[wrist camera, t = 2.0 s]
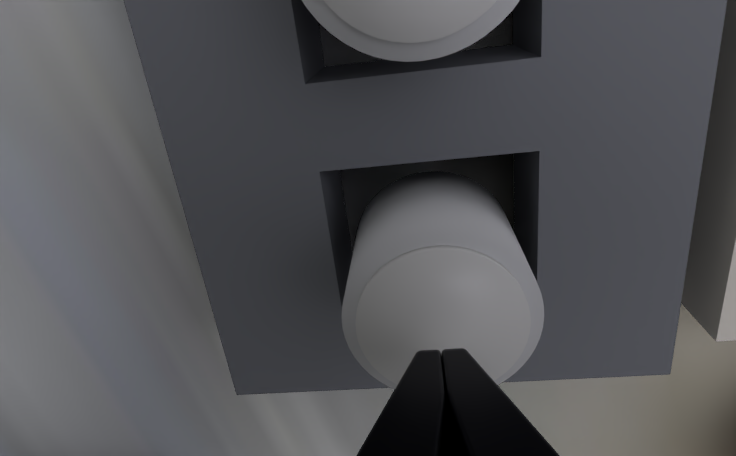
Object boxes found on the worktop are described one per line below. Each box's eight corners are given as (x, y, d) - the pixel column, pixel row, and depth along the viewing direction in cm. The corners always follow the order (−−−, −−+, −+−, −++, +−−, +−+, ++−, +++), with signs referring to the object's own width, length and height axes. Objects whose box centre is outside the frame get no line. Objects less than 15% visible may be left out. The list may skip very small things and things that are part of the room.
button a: (366, 313, 14) (354, 409, 11) (346, 178, 13) (326, 244, 9) (510, 304, 14) (544, 401, 11) (510, 163, 12) (549, 226, 9)
